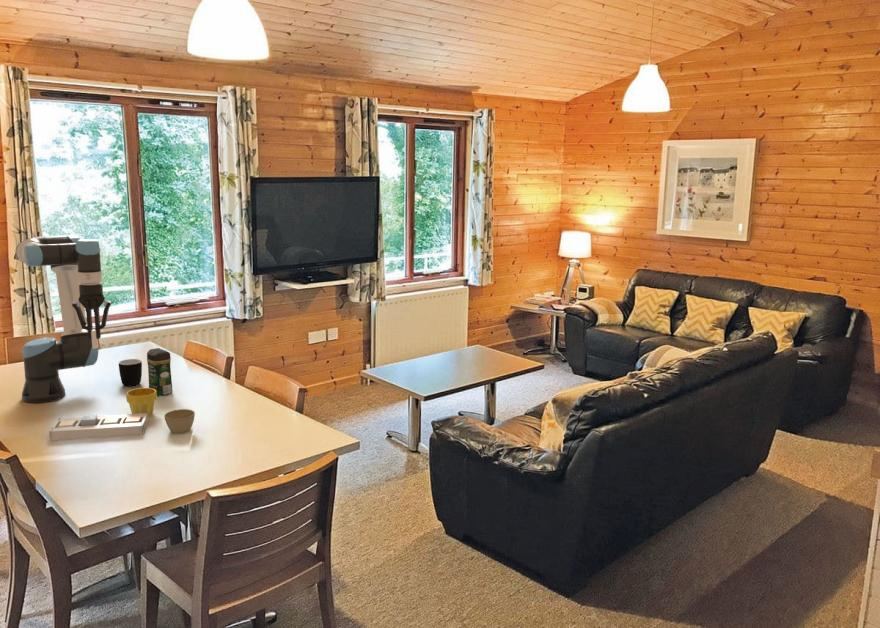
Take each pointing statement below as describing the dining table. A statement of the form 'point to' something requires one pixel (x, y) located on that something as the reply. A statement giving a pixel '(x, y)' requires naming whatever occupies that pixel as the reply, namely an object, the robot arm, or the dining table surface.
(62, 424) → the key cream
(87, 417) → the key slate
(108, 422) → the key sage
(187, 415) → the flower pot
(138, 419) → the key terracotta
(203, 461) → the dining table surface
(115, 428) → the keypad
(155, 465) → the dining table surface
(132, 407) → the plant pot
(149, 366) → the coffee jar
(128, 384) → the mug
